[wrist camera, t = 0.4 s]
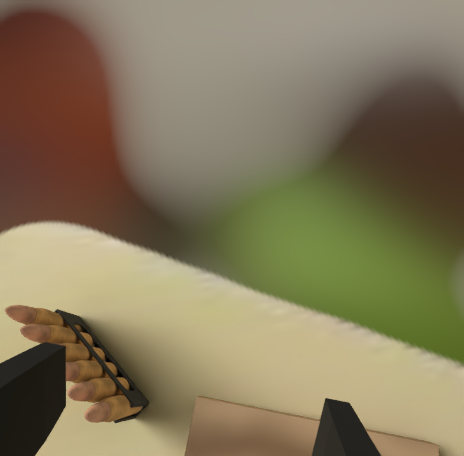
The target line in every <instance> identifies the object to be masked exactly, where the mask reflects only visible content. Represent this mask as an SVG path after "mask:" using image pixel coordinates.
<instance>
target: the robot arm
mask: <svg viewBox="0 0 464 456" xmlns="http://www.w3.org/2000/svg"><path fill="white" fill-rule="evenodd" d="M65 406H66V346H64V345H59V344H54V343H49V342H44V343H42V344H39V345H37V346H35V347H33V348H31V349H29V350H27V351H24V352H22V353H20V354H18V355H16V356H14V357H12V358H10V359H8V360H6V361H4V362H2V363H0V456H35V455H36V453H37V452H38V451H39V449H40V448H41V446H42V445H43V444H44V442H45V441H46V439H47V437H48V436H49V434H50V432H51V431H52V429H53V428H54V426H55V424H56V422H57V421H58V419H59V417H60V415H61V413H62V412H63V410H64V408H65ZM312 456H381V454H380V453H379V451H378V449H377V448H376V446H375V444H374V443H373V441H372V440H371V438H370V436H369V435H368V433H367V431H366V430H365V428H364V426H363V425H362V423H361V421H360V420H359V418H358V416H357V414H356V413H355V411H354V409H353V408H352V406H351V405H350V403H347V402H342V401H337V400H333V399H328V398H326V399H325V403H324V407H323V411H322V415H321V419H320V423H319V427H318V431H317V435H316V439H315V444H314V448H313V452H312Z"/></svg>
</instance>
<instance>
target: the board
mask: <svg viewBox="0 0 464 456" xmlns="http://www.w3.org/2000/svg"><path fill="white" fill-rule="evenodd" d="M319 423H320V420H317V419H312V418H307V417H302V416H297V415H292V414H287V413H282V412H277V411H272V410H267V409H262V408H257V407H252V406H247V405H242V404H237V403H232V402H227V401H222V400H217V399H212V398H207V397H202V396H197V397H196V401H195V406H194V411H193V416H192V421H191V426H190V431H189V436H188V442H187V447H186V452H185V456H312V452H313V448H314V444H315V439H316V435H317V431H318V427H319ZM365 430H366V431H367V433H368V435H369V436H370V438H371V440H372V441H373V443H374V444H375V446H376V448H377V449H378V451H379V453H380V454H381V456H439V445H436V444H433V443H430V442H427V441H422V440H417V439H412V438H407V437H402V436H397V435H392V434H387V433H382V432H377V431H372V430H367V429H365Z"/></svg>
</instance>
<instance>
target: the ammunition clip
mask: <svg viewBox="0 0 464 456" xmlns="http://www.w3.org/2000/svg"><path fill="white" fill-rule="evenodd" d="M5 312H6V314H7V315H8V316H9V317H10V318H12V319H13V320H15V321H17V322H20V323H23V324H25V326H23V327H21V329H20V332H21V334H22V335H23V336H24V337H26V338H28V339H29V340H32V341H35V342H38V343H44V342H49V343H54V344H59V345H64V346H66V381H72V382H74V383H78V384H75V385H74V386H72V387H71V388H70V389H69V390H68V396H69V397H70V398H71V399H73V400H76V401H88V402H92V403H95V402H99V403H96V404H94V405H92V406H91V407H89V408H88V409H87V411H86V412H85V415H84V416H85V419H86V420H88V421H89V422H95V423H98V422H112V421H114V422H115V423H118V422H122V421H126V420H130V419H134V418H135V417H136V416H137V415H138V414H139V413H140V412H141V411H142V410H143V409H144V408H145V407H146V406H147V405H148V404H149V401H148V400H147V399H146V397H145V396H144V395H143V394H142V393H141V391H140V390H139V389H138V388H137V386H136V385H135V384H134V383H133V382H132V380H131V379H130V378H129V377H128V375H127V374H126V373H125V372H124V371H123V369H122V368H121V367H120V366H119V364H118V363H117V362H116V361H115V360H114V358H113V357H112V356H111V355H110V353H109V352H108V351H107V350H106V349H105V347H104V346H103V345H102V344H101V342H100V341H99V340H98V339H97V337H96V336H95V335H94V334H93V333H92V331H91V330H90V329H89V328H88V326H87V325H86V324H85V323H84V322H83V320H82V319H81V318H80V317H79V316H77V315H74V314H70V313H67V312H64V311H61V310H58V309H57V310H56V311H55V312H52V311H49V310H47V309H43V308H33V307H28V306H22V305H13V306H9V307H7V308H6V309H5ZM58 313H59V314H58Z"/></svg>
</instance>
